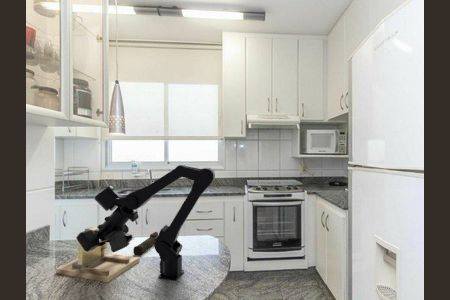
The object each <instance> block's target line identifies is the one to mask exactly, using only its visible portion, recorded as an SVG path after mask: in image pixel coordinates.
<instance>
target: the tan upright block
mask: <svg viewBox="0 0 450 300" xmlns="http://www.w3.org/2000/svg"><path fill="white" fill-rule="evenodd" d="M105 243H106V244H104V245H102V246H98V247H97V248H95V249H93V250H90V251H88V252H87V251H85V250H84V249H83V247H82V246H81V244H80V243H79V242H78V241H77V259H78V261H76V262H74V263H72V268H76V269H80V268H81V267H87V268H93V267H95V266H97V265H99V264H101V263H103V262H105V261H106V257H105V256H101V250H103V249H105V250H106V249H108V242H105Z"/></svg>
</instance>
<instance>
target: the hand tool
mask: <svg viewBox="0 0 450 300" xmlns="http://www.w3.org/2000/svg"><path fill="white" fill-rule="evenodd" d="M158 235H159V232H158V231H155V232H154V231H153V233H151V234H150V235H149V237H148V238H147V239H145V240H144V241H142V242H141V243H139V244H138V245H136V246H134V247H133V250H132V251H133V252H132V253H133V255H134V256H142V255H143V254H144V252H145V251H146V250H148V249H149V248H150V247H152V246H153V245H154V244H155V242H156V241H155V239H156V237H157V236H158Z"/></svg>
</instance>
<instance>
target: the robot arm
mask: <svg viewBox="0 0 450 300" xmlns="http://www.w3.org/2000/svg"><path fill="white" fill-rule="evenodd" d="M181 178H185V179H188V180H190V181H193V183H192V187H191V190H190V192H189V193H188V195H187V196H186V198H185V199H184V201H183V203H182V204H181V207H180V208H179V210H178V211H177V213H176V214H175V216H174V218H173V220H172V221H171V222H170V225H168V224H165V225H164V226H163V227H162V228H161V229H160V231H159V232H158V236H157V237H156V239H155V241H156V242H155V244H153V247H154V250H155V252H156V253H157V254H158V256H159V259H160V260H159V274H158V275H157V277H158V278H159V279H164V280H165V279H166V280H172V281H177V279H179V278H180V276H182V274H183V273H185V270H184V269H183V255H182V254H181V251H182V249H183V244H181V243H180V241H178V238H179V235H180V233H181V229H182V227H183V226H184V224H185V222H186V220H187V218H188V217H189V215H190V214H191V212H192V211H193V209H194V207H195V206H196V204H197V203H198V201H199V199H200V197H201V196H202V195H203V193H204V192H205V191H206V190H207V189H208V187H210V185H211V184H212V183H213V182H214V181H215V179H216V173H215V171H214V170H213V169H212V168H210V167H205V168H204V167H203V168H199V167H197V168H196V167H193V166H187V165H186V164H179V165H177V166H176V167H175V168H174V169H172V170H170V171H169V172H168V173H166V174H164V175H162V177H160V178H158V179H157V180H155V181H153V182H152V183H150V184H148V185H147V186H144V187H142V188H140V189H136V190H135V191H133V192H130V193H128V194H125V195H120V193H119V192H118V191H117V190H116V189H115V187H113V185H109V186H107V187H106V188H105V189H103V190H102V191H101V192H99V193H97V195H96V196H94V200H95V202H96V203H98V205H99V206H100V207H101V208H102V209H104V210H105V212H108V211H110V212H112V211H113V212H112V213H111V214H110V215H108V216H105V218H104V222H103V223H101V224H98V226H97V227H96V228H98V229H99V231H97V230H96V231H92V230H86V231H85V230H84V231H81V232H79V233H78V234H77V236H76V241H77V243H78V242H79V243H80V244H81V246H82V247H83V249H84V250H85V251H87V252H88V251H90V250H93V249H95V248H97V247H98V246H102V245H104V244H106V243H105V242H107V243H108V244H109V245H110V246H109V247H110V251H111V252H112V253H116V252H118V251H121V250H123V249H124V248H127V247H128V246H129V245H130V244H131V241H132V240H133V239H134V238H133V235H132V233H129V232H130V231H129V230H130V229H129V226H127V224H126V223H127V222H128V221H130V222H132V223H133V222H135V221H136V220H138V219H139V218H140V217H139V214H138V211H135V210H138V209H139V208H142V207H143V206H146V205H147V204H148V202H149V201H151V200H152V198H153V197H154V196H155V195H157V194H158V193H159V192H161V191H163V190H164V189H166V188H167V187H169V186H170V185H172V184H173V183H175V182H176V181H178V180H179V179H181Z"/></svg>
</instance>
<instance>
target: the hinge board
mask: <svg viewBox="0 0 450 300" xmlns="http://www.w3.org/2000/svg"><path fill="white" fill-rule="evenodd" d="M86 230H92V231H96V230H97V231H99V229H98V228H97V227H87V228H84V231H86ZM105 250H106V249H103V250H101V256H105V257H106V261H105V262H103V263H101V264H99V265H97V266H95V267H93V268H87V267H81V268H80V269H76V268H72V263H74V262H76V261H78V258H77V259H74V260H72V261H70V262H68V263H66V264H64V265H61V266H59V267H57V268H55V273H56V274H60V275H65V276H69V277H78V278H83V279H86V280H87V279H88V280H94V281H98V282H105V283H109V282H110V281H112V280H115V278H117V277H118V276H120V275H122V274H123V273H125V272H127V270H129V269H131V268H132V267H134V266H135V265H136V264H138V263H140V260H141V257H139V256H132V255H131V256H130V255H123V254H116V253H109V252H105Z"/></svg>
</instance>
